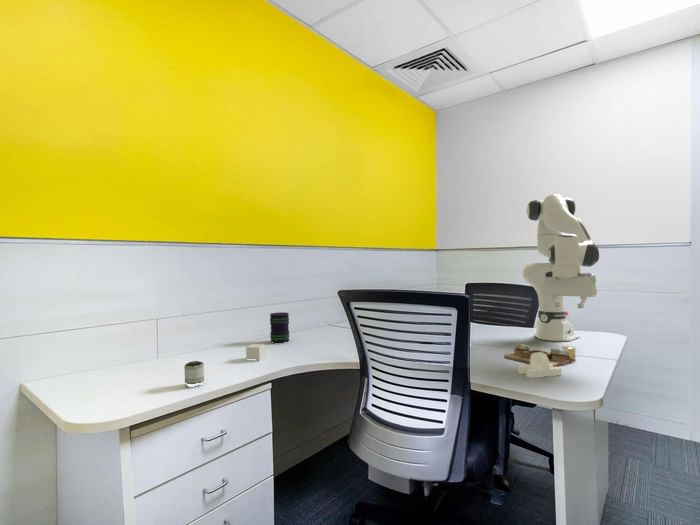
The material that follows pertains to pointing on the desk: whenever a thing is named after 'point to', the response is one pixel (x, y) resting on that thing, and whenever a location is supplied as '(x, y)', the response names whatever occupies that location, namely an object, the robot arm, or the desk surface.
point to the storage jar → (279, 327)
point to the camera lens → (194, 372)
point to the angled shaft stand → (559, 354)
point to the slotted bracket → (539, 367)
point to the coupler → (570, 353)
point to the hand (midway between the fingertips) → (568, 307)
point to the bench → (524, 354)
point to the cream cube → (255, 351)
